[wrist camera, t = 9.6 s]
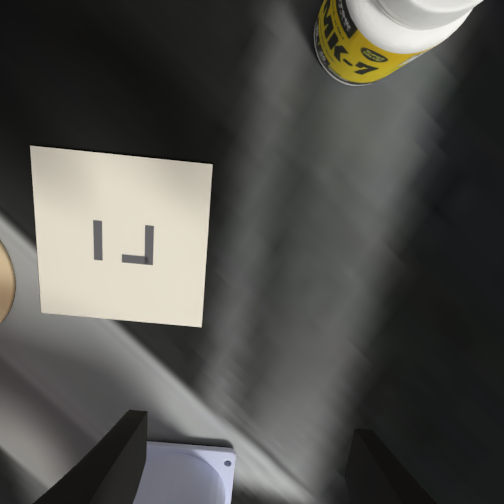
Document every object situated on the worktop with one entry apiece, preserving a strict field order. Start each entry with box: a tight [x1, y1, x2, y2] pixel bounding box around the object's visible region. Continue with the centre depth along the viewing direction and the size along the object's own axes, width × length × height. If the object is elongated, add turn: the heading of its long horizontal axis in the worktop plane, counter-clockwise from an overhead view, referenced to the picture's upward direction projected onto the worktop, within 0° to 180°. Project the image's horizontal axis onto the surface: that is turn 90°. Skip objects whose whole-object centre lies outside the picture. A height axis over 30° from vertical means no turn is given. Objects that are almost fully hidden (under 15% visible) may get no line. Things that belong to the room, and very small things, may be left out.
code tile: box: [30, 146, 213, 327], centre depth 20 cm, size 10×10×1 cm
